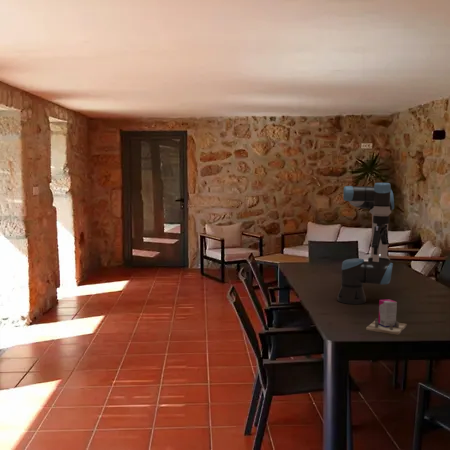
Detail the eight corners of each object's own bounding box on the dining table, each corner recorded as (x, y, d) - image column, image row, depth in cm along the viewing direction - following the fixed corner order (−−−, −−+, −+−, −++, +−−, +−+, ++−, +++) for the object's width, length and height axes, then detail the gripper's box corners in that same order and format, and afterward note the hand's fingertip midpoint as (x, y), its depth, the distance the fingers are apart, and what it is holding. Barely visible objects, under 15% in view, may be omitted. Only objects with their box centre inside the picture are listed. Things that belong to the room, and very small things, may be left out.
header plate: (376, 321, 254) (376, 314, 254) (406, 326, 247) (406, 318, 246) (366, 329, 240) (366, 322, 240) (398, 334, 233) (398, 326, 233)
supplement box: (396, 326, 242) (397, 301, 241) (384, 327, 240) (385, 302, 239) (388, 323, 247) (389, 298, 246) (377, 324, 246) (378, 299, 244)
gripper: (380, 213, 267) (379, 255, 269) (365, 216, 246) (364, 262, 248) (395, 214, 264) (394, 257, 266) (382, 217, 242) (380, 263, 244)
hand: (379, 259), depth 257 cm, fingers open, 13 cm apart
